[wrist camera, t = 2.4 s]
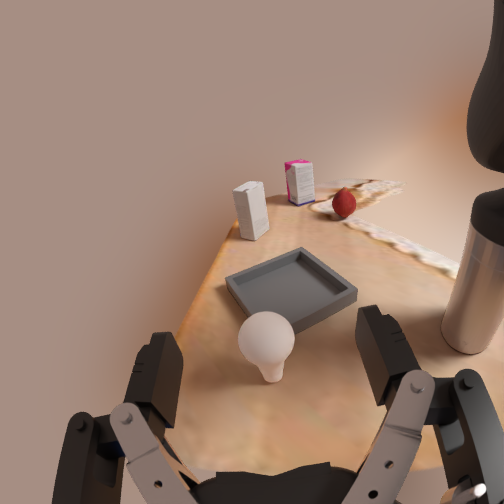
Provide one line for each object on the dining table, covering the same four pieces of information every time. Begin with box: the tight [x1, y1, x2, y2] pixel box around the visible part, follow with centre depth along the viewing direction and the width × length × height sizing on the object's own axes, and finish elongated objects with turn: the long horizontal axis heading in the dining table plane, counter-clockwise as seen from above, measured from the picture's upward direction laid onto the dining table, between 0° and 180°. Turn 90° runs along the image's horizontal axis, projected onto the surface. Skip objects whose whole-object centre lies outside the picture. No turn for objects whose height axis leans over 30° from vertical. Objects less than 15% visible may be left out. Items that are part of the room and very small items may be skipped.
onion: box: [332, 187, 356, 218], centre depth 66 cm, size 6×6×8 cm
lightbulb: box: [238, 311, 295, 383], centre depth 32 cm, size 6×6×11 cm
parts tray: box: [225, 247, 358, 335], centre depth 47 cm, size 16×16×2 cm
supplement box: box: [285, 159, 315, 206], centre depth 78 cm, size 6×6×12 cm
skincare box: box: [233, 181, 269, 241], centre depth 65 cm, size 6×4×12 cm
